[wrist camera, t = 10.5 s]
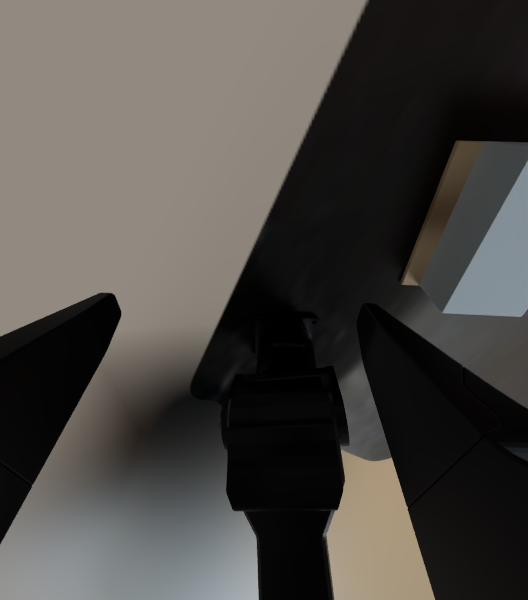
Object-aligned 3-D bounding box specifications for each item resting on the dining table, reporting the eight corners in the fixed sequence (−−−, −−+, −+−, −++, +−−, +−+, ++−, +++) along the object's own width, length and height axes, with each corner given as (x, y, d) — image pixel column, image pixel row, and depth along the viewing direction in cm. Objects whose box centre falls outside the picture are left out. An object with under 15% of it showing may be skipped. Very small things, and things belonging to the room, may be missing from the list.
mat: (501, 286, 23) (504, 288, 23) (400, 282, 23) (402, 284, 23) (596, 144, 17) (603, 144, 16) (455, 140, 17) (459, 141, 17)
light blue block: (486, 288, 23) (521, 316, 20) (419, 285, 23) (442, 313, 20) (579, 144, 16) (654, 151, 13) (484, 141, 16) (534, 148, 13)
